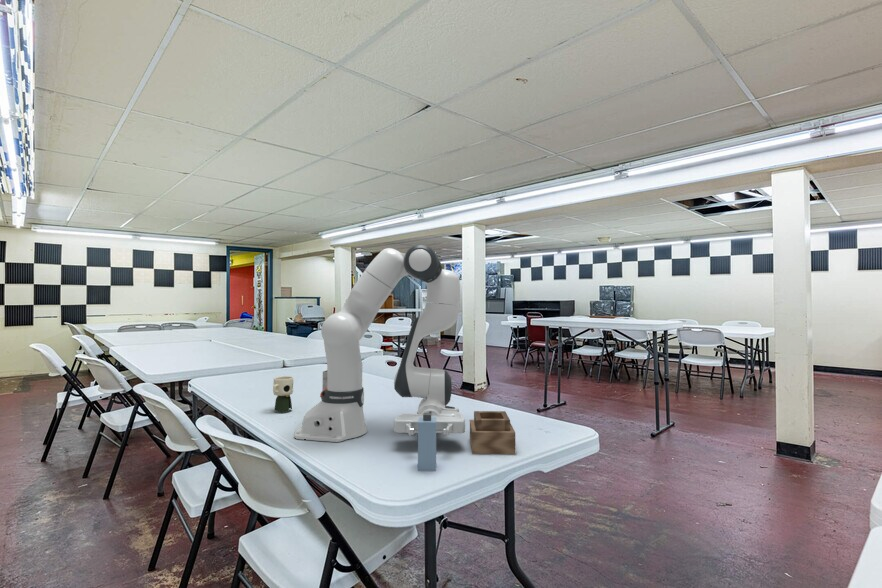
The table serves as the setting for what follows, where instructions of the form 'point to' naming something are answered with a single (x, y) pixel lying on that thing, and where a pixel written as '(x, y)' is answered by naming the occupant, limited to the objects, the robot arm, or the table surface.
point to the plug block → (427, 443)
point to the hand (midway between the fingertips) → (428, 432)
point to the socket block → (491, 433)
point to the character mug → (283, 393)
